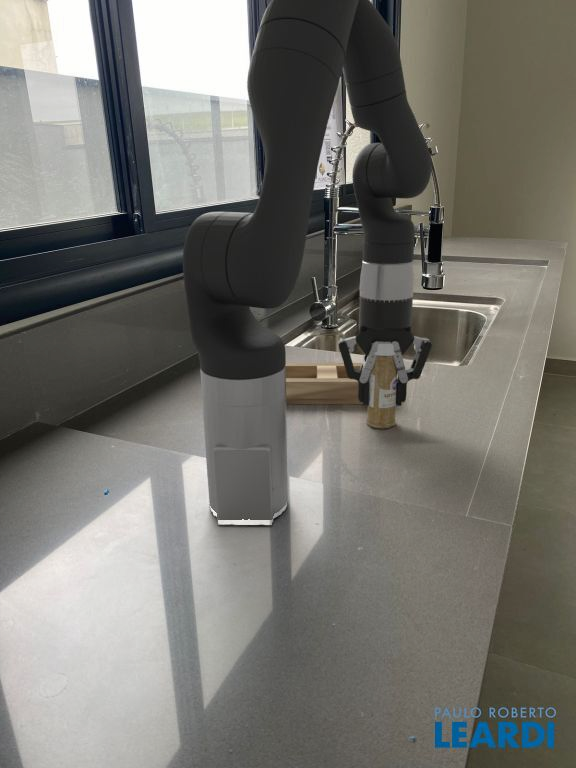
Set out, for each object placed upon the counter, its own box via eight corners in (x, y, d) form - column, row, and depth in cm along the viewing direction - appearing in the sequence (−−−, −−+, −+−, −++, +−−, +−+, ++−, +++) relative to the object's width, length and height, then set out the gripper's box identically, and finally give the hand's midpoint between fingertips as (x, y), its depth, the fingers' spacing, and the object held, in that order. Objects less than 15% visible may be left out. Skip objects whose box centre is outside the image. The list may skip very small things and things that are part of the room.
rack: (387, 404, 100) (388, 381, 99) (267, 404, 101) (267, 381, 100) (381, 383, 110) (382, 362, 108) (271, 383, 111) (270, 363, 109)
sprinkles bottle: (392, 431, 90) (397, 344, 86) (362, 427, 92) (365, 342, 87) (398, 419, 94) (402, 336, 90) (369, 416, 96) (372, 334, 91)
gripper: (337, 298, 83) (335, 413, 89) (442, 297, 82) (433, 413, 88) (335, 288, 90) (333, 395, 96) (431, 287, 89) (424, 395, 95)
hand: (381, 403), depth 92 cm, fingers closed on sprinkles bottle, 4 cm apart
